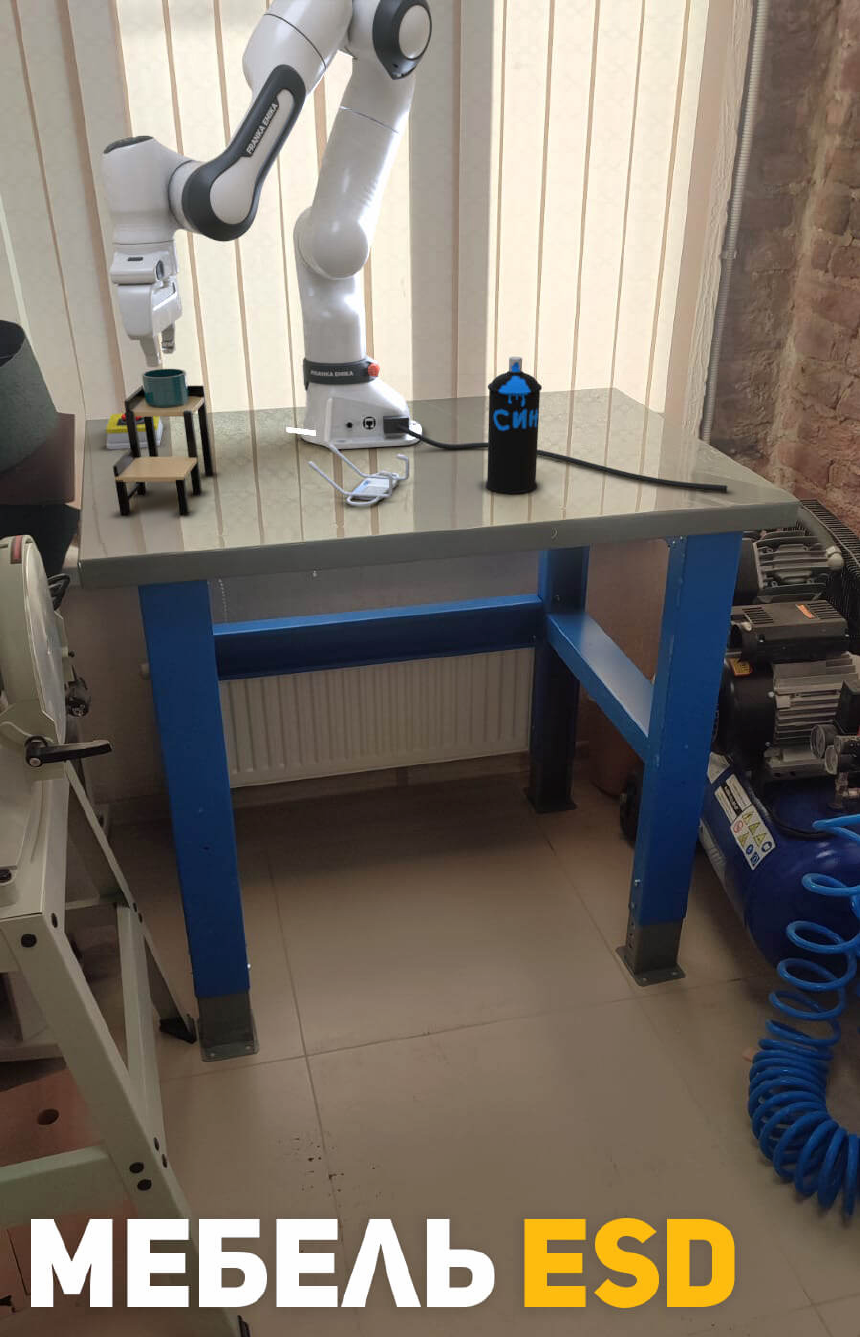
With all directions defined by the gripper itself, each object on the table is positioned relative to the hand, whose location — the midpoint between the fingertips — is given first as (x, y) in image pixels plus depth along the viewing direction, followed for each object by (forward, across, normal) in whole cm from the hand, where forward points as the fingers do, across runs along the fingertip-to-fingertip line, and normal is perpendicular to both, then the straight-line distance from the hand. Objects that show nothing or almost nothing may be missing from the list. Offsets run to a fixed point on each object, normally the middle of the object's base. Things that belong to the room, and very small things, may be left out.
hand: (162, 359), depth 153 cm
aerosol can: (+21, +2, +53) cm, 57 cm away
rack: (+20, +5, -1) cm, 20 cm away
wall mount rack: (+20, +4, +29) cm, 36 cm away
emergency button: (+20, -28, -15) cm, 37 cm away
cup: (+7, 0, 0) cm, 7 cm away
